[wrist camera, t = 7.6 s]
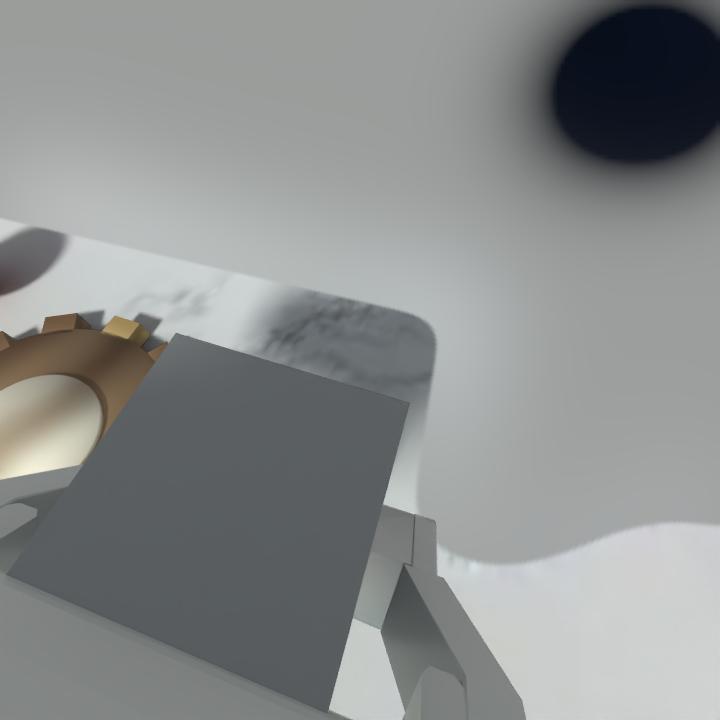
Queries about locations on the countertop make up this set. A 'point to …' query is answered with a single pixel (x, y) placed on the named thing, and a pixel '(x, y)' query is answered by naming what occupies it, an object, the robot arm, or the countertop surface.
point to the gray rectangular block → (228, 515)
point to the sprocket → (66, 390)
